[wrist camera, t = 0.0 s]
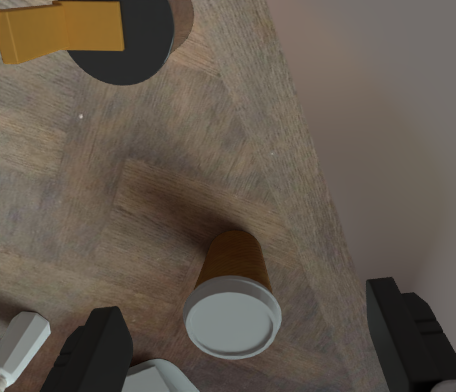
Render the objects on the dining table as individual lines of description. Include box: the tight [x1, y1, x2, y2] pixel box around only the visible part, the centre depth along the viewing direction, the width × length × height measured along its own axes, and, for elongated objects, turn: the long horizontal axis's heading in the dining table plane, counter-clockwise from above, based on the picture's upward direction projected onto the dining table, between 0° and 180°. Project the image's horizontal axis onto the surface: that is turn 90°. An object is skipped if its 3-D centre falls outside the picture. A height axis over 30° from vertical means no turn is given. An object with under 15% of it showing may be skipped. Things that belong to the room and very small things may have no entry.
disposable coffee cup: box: [183, 230, 282, 359], centre depth 43 cm, size 10×10×12 cm
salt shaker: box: [0, 311, 51, 392], centre depth 51 cm, size 5×5×11 cm
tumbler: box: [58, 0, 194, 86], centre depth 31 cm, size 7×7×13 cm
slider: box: [0, 1, 125, 64], centre depth 22 cm, size 4×3×7 cm
